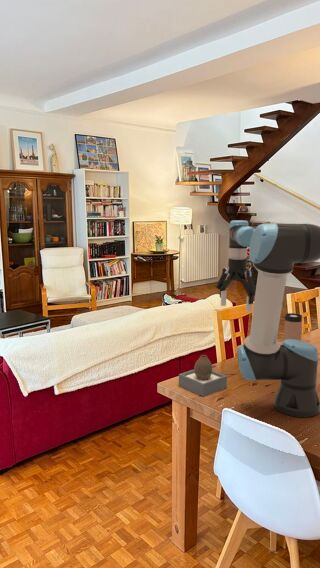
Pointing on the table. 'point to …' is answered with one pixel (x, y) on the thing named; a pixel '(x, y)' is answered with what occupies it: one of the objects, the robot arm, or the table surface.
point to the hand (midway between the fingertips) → (235, 308)
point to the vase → (203, 368)
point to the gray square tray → (202, 383)
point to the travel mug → (293, 326)
